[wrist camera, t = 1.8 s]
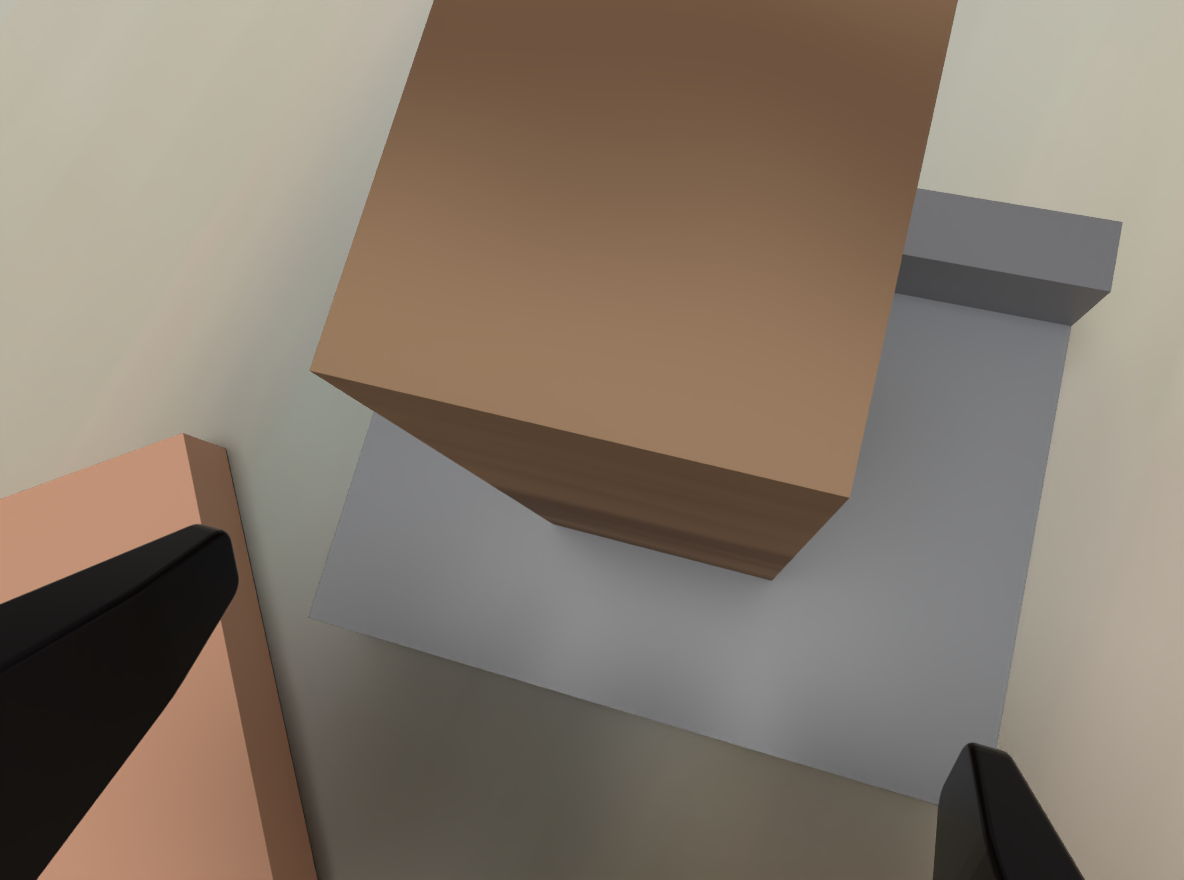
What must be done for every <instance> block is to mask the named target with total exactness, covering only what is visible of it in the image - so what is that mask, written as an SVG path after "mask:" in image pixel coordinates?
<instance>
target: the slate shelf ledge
mask: <svg viewBox="0 0 1184 880" xmlns="http://www.w3.org/2000/svg"><path fill="white" fill-rule="evenodd" d="M1121 228H1122V222H1119V221H1112V220H1106V219H1100V218H1094V217H1088V216H1082V215H1076V214H1070V213H1064V212H1058V211H1052V210H1046V209H1040V208H1033V207H1027V206H1021V205H1015V204H1009V203H1003V202H997V201H991V200H985V199H979V198H973V197H967V196H961V195H955V194H948V193H942V192H936V191H930V190H924V189H918V188H917V191H916V195H915V200H914V204H913V209H912V214H911V218H910V223H909V227H908V232H907V237H906V241H905V246H904V250H903V255H902V260H901V264H900V269H899V273H898V278H897V283H896V287H895V292H894V297H893V301H892V306H891V310H890V315H889V320H888V324H887V329H886V333H885V338H884V343H883V347H882V352H881V356H880V361H879V366H878V370H877V375H876V380H875V384H874V389H873V393H872V398H871V403H870V407H869V412H868V416H867V421H866V426H865V430H864V435H863V439H862V444H861V449H860V453H859V458H858V462H857V467H856V472H855V476H854V481H853V486H852V490H851V495H850V498H849V499H848V500H847V501H846V502H845V503H844V505H843V506H842V507H841V508H840V509H839V510H838V511H837V512H836V513H835V514H834V515H833V516H832V517H831V518H830V519H829V521H828V522H827V523H826V524H825V525H824V526H823V527H822V528H821V529H820V530H819V531H818V532H817V533H816V534H815V535H814V536H813V538H812V539H811V540H810V541H809V542H808V543H807V544H806V545H805V546H804V547H803V548H802V549H801V550H800V551H799V552H798V553H797V555H796V556H795V557H794V558H793V559H792V560H791V561H790V562H789V563H788V564H787V565H786V566H785V567H784V568H783V569H782V570H781V572H780V573H779V574H778V575H777V576H776V577H775V578H774V579H773V580H772V581H771V580H767V579H763V578H759V577H755V576H752V575H748V574H744V573H740V572H736V571H732V570H728V569H724V568H721V567H717V566H713V565H709V564H705V563H701V562H697V561H693V560H690V559H686V558H682V557H678V556H674V555H670V554H666V553H662V552H659V551H655V550H651V549H647V548H643V547H639V546H635V545H632V544H628V543H624V542H620V541H616V540H612V539H608V538H604V537H601V536H597V535H593V534H589V533H585V532H581V531H577V530H573V529H570V528H566V527H562V526H558V525H554V524H552V523H550V522H549V521H547V520H545V519H544V518H542V517H541V516H539V515H538V514H536V513H534V512H533V511H531V510H530V509H528V508H526V507H525V506H523V505H522V504H520V503H519V502H517V501H515V500H514V499H512V498H511V497H509V496H507V495H506V494H504V493H503V492H501V491H499V490H498V489H496V488H495V487H493V486H492V485H490V484H488V483H487V482H485V481H484V480H482V479H480V478H479V477H477V476H476V475H474V474H473V473H471V472H469V471H468V470H466V469H465V468H463V467H461V466H460V465H458V464H457V463H455V462H454V461H452V460H450V459H449V458H447V457H446V456H444V455H442V454H441V453H439V452H438V451H436V450H435V449H433V448H431V447H430V446H428V445H427V444H425V443H423V442H422V441H420V440H419V439H417V438H416V437H414V436H412V435H411V434H409V433H408V432H406V431H404V430H403V429H401V428H400V427H398V426H397V425H395V424H393V423H392V422H390V421H389V420H387V419H385V418H384V417H382V416H381V415H379V414H378V413H376V412H374V413H373V416H372V419H371V423H370V426H369V429H368V432H367V435H366V438H365V441H364V444H363V448H362V451H361V454H360V457H359V460H358V463H357V466H356V469H355V473H354V476H353V479H352V482H351V485H350V488H349V491H348V494H347V498H346V501H345V504H344V507H343V510H342V513H341V516H340V519H339V523H338V526H337V529H336V532H335V535H334V538H333V541H332V544H331V548H330V551H329V554H328V557H327V560H326V563H325V566H324V569H323V573H322V576H321V579H320V582H319V585H318V588H317V591H316V594H315V598H314V601H313V604H312V607H311V610H310V613H309V616H308V618H311V619H314V620H318V621H321V622H325V623H328V624H331V625H335V626H338V627H341V628H345V629H348V630H351V631H355V632H358V633H361V634H365V635H368V636H372V637H375V638H378V639H382V640H385V641H388V642H392V643H395V644H398V645H402V646H405V647H408V648H412V649H415V650H419V651H422V652H425V653H429V654H432V655H435V656H439V657H442V658H445V659H449V660H452V661H455V662H459V663H462V664H466V665H469V666H472V667H476V668H479V669H482V670H486V671H489V672H492V673H496V674H499V675H503V676H506V677H509V678H513V679H516V680H519V681H523V682H526V683H529V684H533V685H536V686H539V687H543V688H546V689H550V690H553V691H556V692H560V693H563V694H566V695H570V696H573V697H576V698H580V699H583V700H586V701H590V702H593V703H597V704H600V705H603V706H607V707H610V708H613V709H617V710H620V711H623V712H627V713H630V714H633V715H637V716H640V717H644V718H647V719H650V720H654V721H657V722H660V723H664V724H667V725H670V726H674V727H677V728H681V729H684V730H687V731H691V732H694V733H697V734H701V735H704V736H707V737H711V738H714V739H717V740H721V741H724V742H728V743H731V744H734V745H738V746H741V747H744V748H748V749H751V750H754V751H758V752H761V753H764V754H768V755H771V756H775V757H778V758H781V759H785V760H788V761H791V762H795V763H798V764H801V765H805V766H808V767H811V768H815V769H818V770H822V771H825V772H828V773H832V774H835V775H838V776H842V777H845V778H848V779H852V780H855V781H858V782H862V783H865V784H869V785H872V786H875V787H879V788H882V789H885V790H889V791H892V792H895V793H899V794H902V795H906V796H909V797H912V798H916V799H919V800H922V801H926V802H929V803H932V804H936V805H939V798H940V794H941V790H942V787H943V785H944V783H945V781H946V779H947V777H948V775H949V773H950V771H951V769H952V768H953V766H954V764H955V762H956V760H957V758H958V756H959V754H960V752H961V750H962V749H963V747H964V746H965V745H966V744H967V743H970V742H974V743H978V744H981V745H985V746H989V747H992V748H996V746H997V741H998V735H999V730H1000V724H1001V718H1002V713H1003V707H1004V701H1005V696H1006V690H1007V685H1008V679H1009V673H1010V668H1011V662H1012V656H1013V651H1014V645H1015V640H1016V634H1017V628H1018V623H1019V617H1020V611H1021V606H1022V600H1023V595H1024V589H1025V583H1026V578H1027V572H1028V566H1029V561H1030V555H1031V550H1032V544H1033V538H1034V533H1035V527H1036V522H1037V516H1038V510H1039V505H1040V499H1041V493H1042V488H1043V482H1044V477H1045V471H1046V465H1047V460H1048V454H1049V448H1050V443H1051V437H1052V432H1053V426H1054V420H1055V415H1056V409H1057V403H1058V398H1059V392H1060V387H1061V381H1062V375H1063V370H1064V364H1065V359H1066V353H1067V347H1068V342H1069V336H1070V330H1071V326H1072V325H1073V324H1074V323H1075V322H1077V321H1078V320H1079V319H1080V318H1081V317H1082V316H1083V315H1085V314H1086V313H1087V312H1088V311H1089V310H1090V309H1091V308H1092V307H1094V306H1095V305H1096V304H1097V303H1098V302H1099V301H1100V300H1102V299H1103V298H1104V297H1105V296H1106V295H1107V294H1108V293H1110V292H1111V287H1112V281H1113V275H1114V269H1115V263H1116V257H1117V251H1118V246H1119V240H1120V234H1121Z"/></svg>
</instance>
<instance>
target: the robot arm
mask: <svg viewBox="0 0 1184 880" xmlns="http://www.w3.org/2000/svg"><path fill="white" fill-rule="evenodd" d="M238 584H239V574H238V569H237V565H236V560H235V555H234V550H233V546H232V541H231V538H230V536H229V534H228V533H227V532H226V531H224V530H222V529H218V528H215V527H211V526H207V525H204V524H193V525H190V526H188V527H185V528H183V529H180V530H178V531H176V532H173V533H171V534H168V535H166V536H163V537H161V538H159V539H156V540H154V541H151V542H149V543H146V544H144V545H142V546H139V547H137V548H134V549H132V550H130V551H127V552H125V553H122V554H120V555H117V556H115V557H113V558H110V559H108V560H105V561H103V562H101V563H98V564H96V565H93V566H91V567H88V568H86V569H84V570H81V571H79V572H76V573H74V574H71V575H69V576H67V577H64V578H62V579H59V580H57V581H55V582H52V583H50V584H47V585H45V586H42V587H40V588H38V589H35V590H33V591H30V592H28V593H26V594H23V595H21V596H18V597H16V598H13V599H11V600H9V601H6V602H4V603H1V604H0V880H37V879H38V878H39V876H40V875H41V874H42V872H43V871H44V870H45V868H46V867H47V866H48V864H49V863H50V862H51V860H52V859H53V858H54V856H55V855H56V854H57V852H58V851H59V850H60V848H61V847H62V846H63V844H64V843H65V842H66V840H67V839H68V838H69V836H70V835H71V834H72V832H73V831H74V830H75V828H76V827H77V826H78V824H79V823H80V822H81V820H82V819H83V818H84V816H85V815H86V814H87V812H88V811H89V810H90V808H91V807H92V805H93V804H94V803H95V801H96V800H97V799H98V797H99V796H100V795H101V793H102V792H103V791H104V789H105V788H106V787H107V785H108V784H109V783H110V781H111V780H112V779H113V777H114V776H115V775H116V773H117V772H118V771H119V769H120V768H121V767H122V765H123V764H124V763H125V761H126V760H127V759H128V757H129V756H130V755H131V753H132V752H133V751H134V749H135V748H136V747H137V745H138V744H139V743H140V741H141V740H142V739H143V737H144V736H145V735H146V733H147V732H148V731H149V729H150V728H151V727H152V725H153V724H154V723H155V721H156V720H157V719H158V717H159V716H160V715H161V713H162V712H163V711H164V709H165V708H166V706H167V705H168V704H169V702H170V701H171V699H172V698H173V697H174V695H175V693H176V692H177V690H178V689H179V687H180V686H181V684H182V683H183V681H184V679H185V678H186V676H187V674H188V673H189V671H190V669H191V668H192V666H193V664H194V663H195V661H196V659H197V658H198V656H199V655H200V653H201V651H202V650H203V648H204V646H205V645H206V643H207V641H208V640H209V638H210V636H211V635H212V633H213V631H214V630H215V628H216V626H217V625H218V623H219V621H220V620H221V618H222V616H223V615H224V613H225V611H226V610H227V608H228V606H229V605H230V603H231V601H232V600H233V598H234V596H235V594H236V591H237V589H238ZM933 880H1085V879H1084V877H1083V876H1082V874H1081V872H1080V871H1079V869H1078V867H1077V866H1076V864H1075V862H1074V861H1073V859H1072V857H1071V856H1070V854H1069V852H1068V851H1067V849H1066V847H1065V846H1064V844H1063V842H1062V840H1061V839H1060V837H1059V835H1058V834H1057V832H1056V830H1055V829H1054V827H1053V825H1052V824H1051V822H1050V820H1049V819H1048V817H1047V815H1046V814H1045V812H1044V810H1043V809H1042V807H1041V805H1040V804H1039V802H1038V800H1037V799H1036V797H1035V795H1034V794H1033V792H1032V790H1031V789H1030V787H1029V785H1028V784H1027V782H1026V780H1025V779H1024V777H1023V775H1022V774H1021V772H1020V770H1019V768H1018V767H1017V765H1016V763H1015V762H1014V760H1013V759H1012V757H1011V756H1010V755H1009V754H1008V753H1006V752H1005V751H1002V750H999V749H996V748H992V747H989V746H985V745H981V744H978V743H974V742H970V743H967V744H966V745H965V746H964V747H963V749H962V750H961V752H960V754H959V756H958V758H957V760H956V762H955V764H954V766H953V768H952V769H951V771H950V773H949V775H948V777H947V779H946V781H945V783H944V785H943V787H942V790H941V794H940V798H939V805H938V817H937V830H936V844H935V858H934V872H933Z"/></svg>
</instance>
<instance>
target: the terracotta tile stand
mask: <svg viewBox="0 0 1184 880" xmlns="http://www.w3.org/2000/svg"><path fill="white" fill-rule="evenodd" d="M193 524H204V525H207V526H211V527H215V528H218V529H222V530H224V531H226V532H227V533H228V534H229V536H230V538H231V541H232V546H233V550H234V555H235V560H236V565H237V569H238V574H239V584H238V589H237V591H236V594H235V596H234V598H233V600H232V601H231V603H230V605H229V606H228V608H227V610H226V611H225V613H224V615H223V616H222V618H221V620H220V621H219V623H218V625H217V626H216V628H215V630H214V631H213V633H212V635H211V636H210V638H209V640H208V641H207V643H206V645H205V646H204V648H203V650H202V651H201V653H200V655H199V656H198V658H197V659H196V661H195V663H194V664H193V666H192V668H191V669H190V671H189V673H188V674H187V676H186V678H185V679H184V681H183V683H182V684H181V686H180V687H179V689H178V690H177V692H176V693H175V695H174V697H173V698H172V699H171V701H170V702H169V704H168V705H167V706H166V708H165V709H164V711H163V712H162V713H161V715H160V716H159V717H158V719H157V720H156V721H155V723H154V724H153V725H152V727H151V728H150V729H149V731H148V732H147V733H146V735H145V736H144V737H143V739H142V740H141V741H140V743H139V744H138V745H137V747H136V748H135V749H134V751H133V752H132V753H131V755H130V756H129V757H128V759H127V760H126V761H125V763H124V764H123V765H122V767H121V768H120V769H119V771H118V772H117V773H116V775H115V776H114V777H113V779H112V780H111V781H110V783H109V784H108V785H107V787H106V788H105V789H104V791H103V792H102V793H101V795H100V796H99V797H98V799H97V800H96V801H95V803H94V804H93V805H92V807H91V808H90V810H89V811H88V812H87V814H86V815H85V816H84V818H83V819H82V820H81V822H80V823H79V824H78V826H77V827H76V828H75V830H74V831H73V832H72V834H71V835H70V836H69V838H68V839H67V840H66V842H65V843H64V844H63V846H62V847H61V848H60V850H59V851H58V852H57V854H56V855H55V856H54V858H53V859H52V860H51V862H50V863H49V864H48V866H47V867H46V868H45V870H44V871H43V872H42V874H41V875H40V876H39V878H38V879H37V880H317V875H316V870H315V866H314V861H313V856H312V852H311V847H310V842H309V838H308V833H307V828H306V823H305V819H304V814H303V809H302V805H301V800H300V795H299V791H298V786H297V781H296V777H295V772H294V767H293V763H292V758H291V753H290V749H289V744H288V739H287V735H286V730H285V725H284V721H283V716H282V711H281V707H280V702H279V697H278V692H277V688H276V683H275V678H274V674H273V669H272V664H271V660H270V655H269V650H268V646H267V641H266V636H265V632H264V627H263V622H262V618H261V613H260V608H259V604H258V599H257V594H256V590H255V585H254V580H253V576H252V571H251V566H250V561H249V557H248V552H247V547H246V543H245V538H244V533H243V529H242V524H241V519H240V515H239V510H238V505H237V501H236V496H235V491H234V487H233V482H232V477H231V473H230V468H229V463H228V459H227V454H226V449H225V448H222V447H219V446H217V445H214V444H211V443H209V442H206V441H203V440H200V439H198V438H195V437H192V436H190V435H187V434H184V433H182V434H179V435H176V436H174V437H171V438H168V439H165V440H163V441H160V442H157V443H154V444H152V445H149V446H146V447H143V448H140V449H138V450H135V451H132V452H129V453H127V454H124V455H121V456H118V457H116V458H113V459H110V460H107V461H105V462H102V463H99V464H96V465H94V466H91V467H88V468H85V469H83V470H80V471H77V472H74V473H71V474H69V475H66V476H63V477H60V478H58V479H55V480H52V481H49V482H47V483H44V484H41V485H38V486H36V487H33V488H30V489H27V490H25V491H22V492H19V493H16V494H13V495H11V496H8V497H5V498H2V499H0V604H1V603H4V602H6V601H9V600H11V599H13V598H16V597H18V596H21V595H23V594H26V593H28V592H30V591H33V590H35V589H38V588H40V587H42V586H45V585H47V584H50V583H52V582H55V581H57V580H59V579H62V578H64V577H67V576H69V575H71V574H74V573H76V572H79V571H81V570H84V569H86V568H88V567H91V566H93V565H96V564H98V563H101V562H103V561H105V560H108V559H110V558H113V557H115V556H117V555H120V554H122V553H125V552H127V551H130V550H132V549H134V548H137V547H139V546H142V545H144V544H146V543H149V542H151V541H154V540H156V539H159V538H161V537H163V536H166V535H168V534H171V533H173V532H176V531H178V530H180V529H183V528H185V527H188V526H190V525H193Z"/></svg>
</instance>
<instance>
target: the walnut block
mask: <svg viewBox="0 0 1184 880" xmlns="http://www.w3.org/2000/svg"><path fill="white" fill-rule="evenodd" d="M957 2H958V0H434V2H433V5H432V8H431V11H430V14H429V17H428V19H427V22H426V25H425V28H424V31H423V34H422V37H421V40H420V43H419V46H418V49H417V52H416V55H415V58H414V61H413V64H412V67H411V70H410V73H409V76H408V79H407V82H406V85H405V88H404V91H403V94H402V97H401V100H400V103H399V106H398V109H397V112H396V115H395V118H394V121H393V124H392V127H391V130H390V133H389V136H388V138H387V141H386V144H385V147H384V150H383V153H382V156H381V159H380V162H379V165H378V168H377V171H376V174H375V177H374V180H373V183H372V186H371V189H370V192H369V195H368V198H367V201H366V204H365V207H364V210H363V213H362V216H361V219H360V222H359V225H358V228H357V231H356V234H355V237H354V240H353V243H352V246H351V249H350V252H349V254H348V257H347V260H346V263H345V266H344V269H343V272H342V275H341V278H340V281H339V284H338V287H337V290H336V293H335V296H334V299H333V302H332V305H331V308H330V311H329V314H328V317H327V320H326V323H325V326H324V329H323V332H322V335H321V338H320V341H319V344H318V347H317V350H316V353H315V356H314V359H313V362H312V365H311V368H310V371H311V372H313V373H314V374H316V375H317V376H319V377H321V378H322V379H324V380H325V381H327V382H328V383H330V384H332V385H333V386H335V387H336V388H338V389H340V390H341V391H343V392H344V393H346V394H347V395H349V396H351V397H352V398H354V399H355V400H357V401H359V402H360V403H362V404H363V405H365V406H366V407H368V408H370V409H371V410H373V411H374V412H376V413H378V414H379V415H381V416H382V417H384V418H385V419H387V420H389V421H390V422H392V423H393V424H395V425H397V426H398V427H400V428H401V429H403V430H404V431H406V432H408V433H409V434H411V435H412V436H414V437H416V438H417V439H419V440H420V441H422V442H423V443H425V444H427V445H428V446H430V447H431V448H433V449H435V450H436V451H438V452H439V453H441V454H442V455H444V456H446V457H447V458H449V459H450V460H452V461H454V462H455V463H457V464H458V465H460V466H461V467H463V468H465V469H466V470H468V471H469V472H471V473H473V474H474V475H476V476H477V477H479V478H480V479H482V480H484V481H485V482H487V483H488V484H490V485H492V486H493V487H495V488H496V489H498V490H499V491H501V492H503V493H504V494H506V495H507V496H509V497H511V498H512V499H514V500H515V501H517V502H519V503H520V504H522V505H523V506H525V507H526V508H528V509H530V510H531V511H533V512H534V513H536V514H538V515H539V516H541V517H542V518H544V519H545V520H547V521H549V522H550V523H552V524H554V525H558V526H562V527H566V528H570V529H573V530H577V531H581V532H585V533H589V534H593V535H597V536H601V537H604V538H608V539H612V540H616V541H620V542H624V543H628V544H632V545H635V546H639V547H643V548H647V549H651V550H655V551H659V552H662V553H666V554H670V555H674V556H678V557H682V558H686V559H690V560H693V561H697V562H701V563H705V564H709V565H713V566H717V567H721V568H724V569H728V570H732V571H736V572H740V573H744V574H748V575H752V576H755V577H759V578H763V579H767V580H771V581H772V580H773V579H774V578H775V577H776V576H777V575H778V574H779V573H780V572H781V570H782V569H783V568H784V567H785V566H786V565H787V564H788V563H789V562H790V561H791V560H792V559H793V558H794V557H795V556H796V555H797V553H798V552H799V551H800V550H801V549H802V548H803V547H804V546H805V545H806V544H807V543H808V542H809V541H810V540H811V539H812V538H813V536H814V535H815V534H816V533H817V532H818V531H819V530H820V529H821V528H822V527H823V526H824V525H825V524H826V523H827V522H828V521H829V519H830V518H831V517H832V516H833V515H834V514H835V513H836V512H837V511H838V510H839V509H840V508H841V507H842V506H843V505H844V503H845V502H846V501H847V500H848V499H849V498H850V495H851V490H852V486H853V481H854V476H855V472H856V467H857V462H858V458H859V453H860V449H861V444H862V439H863V435H864V430H865V426H866V421H867V416H868V412H869V407H870V403H871V398H872V393H873V389H874V384H875V380H876V375H877V370H878V366H879V361H880V356H881V352H882V347H883V343H884V338H885V333H886V329H887V324H888V320H889V315H890V310H891V306H892V301H893V297H894V292H895V287H896V283H897V278H898V273H899V269H900V264H901V260H902V255H903V250H904V246H905V241H906V237H907V232H908V227H909V223H910V218H911V214H912V209H913V204H914V200H915V195H916V191H917V186H918V181H919V177H920V172H921V167H922V163H923V158H924V154H925V149H926V144H927V140H928V135H929V131H930V126H931V121H932V117H933V112H934V108H935V103H936V98H937V94H938V89H939V84H940V80H941V75H942V71H943V66H944V61H945V57H946V52H947V48H948V43H949V38H950V34H951V29H952V25H953V20H954V15H955V11H956V6H957Z"/></svg>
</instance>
